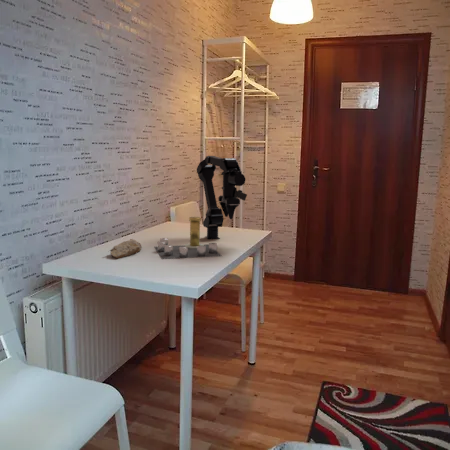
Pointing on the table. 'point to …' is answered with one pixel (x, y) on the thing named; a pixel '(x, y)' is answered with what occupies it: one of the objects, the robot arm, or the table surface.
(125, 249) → the stone
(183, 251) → the spacers
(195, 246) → the pad
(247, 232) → the table surface
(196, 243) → the brass sleeve
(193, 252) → the mat
